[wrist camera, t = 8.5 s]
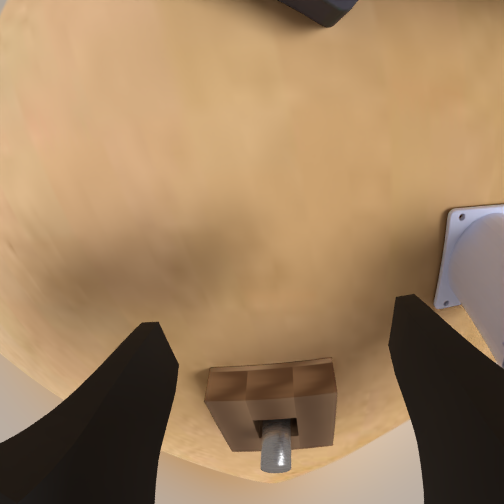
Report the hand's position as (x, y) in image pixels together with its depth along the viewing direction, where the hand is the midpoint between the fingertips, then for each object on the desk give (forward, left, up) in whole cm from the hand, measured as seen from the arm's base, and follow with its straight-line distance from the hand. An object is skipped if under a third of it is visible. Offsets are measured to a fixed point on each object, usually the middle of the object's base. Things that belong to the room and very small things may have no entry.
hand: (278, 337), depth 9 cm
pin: (+2, +18, -9) cm, 20 cm away
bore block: (+2, +18, -10) cm, 21 cm away
